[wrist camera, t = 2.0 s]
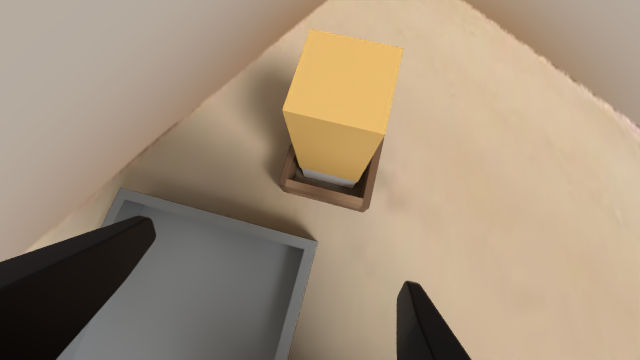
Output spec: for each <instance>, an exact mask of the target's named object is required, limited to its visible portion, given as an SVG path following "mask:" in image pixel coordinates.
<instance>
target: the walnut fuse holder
mask: <svg viewBox="0 0 640 360" xmlns="http://www.w3.org/2000/svg"><path fill="white" fill-rule="evenodd" d="M384 136H385V135H384ZM383 141H384V137H383V139H382V141H381V142H380V144H379V146H378V148H377V149H376V151H375V153H374V155H373V156H372V158H371V160H370V162H369V163H368V165H367V167H366V172H365V176H364V180H363V185H362V189H361V194H360V198H358V197H355V196H351V195H347V194H343V193H339V192H335V191H331V190H327V189H324V188H320V187H316V186H312V185H308V184H304V183H300V182H296V181H294V178H295V174H296V171H297V168H298V165H299V163H298V160H297V157H296V154H295V150H294V147H293V144H292V142H291V145H290V148H289V151H288V154H287V158H286V161H285V164H284V167H283V170H282V173H281V176H280V179H279V183H278V185H279V186H280V187H281V189H282V190H283V191H284V192H287V193H291V194H295V195H299V196H303V197H306V198H310V199H314V200H318V201H322V202H326V203H329V204H333V205H337V206H341V207H345V208H348V209H352V210H356V211H360V212H364V211H365V210H367V209H368V208H369V206H370V201H371V196H372V192H373V187H374V182H375V178H376V173H377V168H378V164H379V159H380V154H381V150H382V145H383Z"/></svg>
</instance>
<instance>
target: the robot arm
mask: <svg viewBox="0 0 640 360" xmlns="http://www.w3.org/2000/svg"><path fill="white" fill-rule="evenodd" d="M155 239H156V231H155V228H154V224H153V221H152V219H151V218H149V217H146V216H141V215H138V216H134V217H132V218H129V219H126V220H123V221H120V222H117V223H114V224H111V225H108V226H105V227H102V228H99V229H96V230H93V231H90V232H87V233H84V234H82V235H79V236H76V237H73V238H70V239H67V240H64V241H61V242H58V243H55V244H52V245H49V246H46V247H43V248H40V249H37V250H34V251H32V252H29V253H26V254H23V255H20V256H17V257H14V258H11V259H8V260H5V261H2V262H0V360H56V359H57V358H58V357H59V356H60V355H61V354H62V352H63V351H64V350H65V349H66V348H67V347H68V346H69V344H70V343H71V342H72V341H73V340H74V339H75V338H76V336H77V335H78V334H79V333H80V332H81V331H82V330H83V328H84V327H85V326H86V325H87V324H88V323H89V322H90V320H91V319H92V318H93V317H94V316H95V315H96V314H97V312H98V311H99V310H100V309H101V308H102V307H103V306H104V304H105V303H106V302H107V301H108V300H109V299H110V298H111V296H112V295H113V294H114V293H115V292H116V291H117V290H118V288H119V287H120V286H121V285H122V284H123V283H124V281H125V280H126V279H127V278H128V276H129V275H130V274H131V272H132V271H133V270H134V268H135V267H136V266H137V264H138V263H139V262H140V260H141V259H142V257H143V256H144V255H145V253H146V252H147V251H148V249H149V248H150V247H151V245H152V244H153V242H154V241H155ZM397 360H471V358H470V357H469V355H468V354H467V353H466V351H465V350H464V348H463V347H462V345H461V344H460V342H459V341H458V339H457V338H456V336H455V335H454V333H453V332H452V331H451V329H450V328H449V326H448V325H447V323H446V322H445V320H444V319H443V317H442V316H441V314H440V313H439V312H438V310H437V309H436V307H435V306H434V304H433V303H432V301H431V300H430V298H429V297H428V295H427V294H426V292H425V291H424V290H423V288H422V287H421V285H420V284H418V283H416V282H412V281H405V283H404V284H403V286H402V288H401V290H400V292H399V294H398V297H397Z"/></svg>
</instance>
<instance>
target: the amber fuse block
mask: <svg viewBox="0 0 640 360" xmlns="http://www.w3.org/2000/svg"><path fill="white" fill-rule="evenodd" d="M403 49H404V48H401V47H396V46H391V45H386V44H381V43H376V42H371V41H367V40H362V39H357V38H352V37H347V36H342V35H337V34H332V33H328V32H323V31H318V30H313V29H310V31H309V34H308V36H307V39H306V42H305V45H304V48H303V51H302V54H301V57H300V60H299V63H298V66H297V68H296V71H295V74H294V77H293V80H292V83H291V86H290V89H289V92H288V95H287V98H286V101H285V103H284V106H283V109H282V111H283V115H284V118H285V121H286V124H287V128H288V131H289V134H290V137H291V141H292V144H293V147H294V150H295V154H296V157H297V160H298V163H299V166H300V168H302V171H303V174H304V176H305V177H309V178H313V179H316V180H320V181H324V182H328V183H332V184H336V185H340V186H344V187H348V188H353V187H354V185H355V183H356V182H358V181H359V179H360V177H361V175H362V174H363V172H364V170H365V168H366V167H367V165H368V163H369V162H370V160H371V158H372V156H373V155H374V153H375V151H376V149H377V148H378V146H379V144H380V142H381V141H382V139H383V137H384V135H385V133H386V128H387V123H388V119H389V114H390V109H391V105H392V100H393V95H394V91H395V86H396V81H397V77H398V72H399V67H400V63H401V58H402V53H403Z"/></svg>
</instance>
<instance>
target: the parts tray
mask: <svg viewBox="0 0 640 360" xmlns="http://www.w3.org/2000/svg"><path fill="white" fill-rule="evenodd" d="M138 215H141V216H146V217H149V218H151V219H152V221H153V224H154V228H155V231H156V239H155V241H154V242H153V244H152V245H151V247H150V248H149V249H148V251H147V252H146V253H145V255H144V256H143V257H142V259H141V260H140V262H139V263H138V264H137V266H136V267H135V268H134V270H133V271H132V272H131V274H130V275H129V276H128V278H127V279H126V280H125V281H124V283H123V284H122V285H121V286H120V287H119V288H118V290H117V291H116V292H115V293H114V294H113V295H112V296H111V298H110V299H109V300H108V301H107V302H106V303H105V304H104V306H103V307H102V308H101V309H100V310H99V311H98V312H97V314H96V315H95V316H94V317H93V318H92V319H91V320H90V322H89V323H88V324H87V325H86V326H85V327H84V328H83V330H82V331H81V332H80V333H79V334H78V335H77V336H76V338H75V339H74V340H73V341H72V342H71V343H70V344H69V346H68V347H67V348H66V349H65V350H64V351H63V352H62V354H61V355H60V356H59V357H58V358H57V359H56V360H287V359H288V355H289V351H290V347H291V343H292V340H293V336H294V332H295V328H296V324H297V320H298V317H299V313H300V309H301V305H302V301H303V297H304V293H305V290H306V286H307V282H308V278H309V274H310V270H311V267H312V263H313V259H314V255H315V251H316V247H317V243H318V242H316V241H313V240H309V239H305V238H302V237H298V236H294V235H291V234H287V233H284V232H280V231H276V230H273V229H269V228H265V227H262V226H258V225H255V224H251V223H247V222H244V221H240V220H236V219H233V218H229V217H226V216H222V215H218V214H215V213H211V212H207V211H204V210H200V209H197V208H193V207H189V206H186V205H182V204H178V203H175V202H171V201H168V200H164V199H160V198H157V197H153V196H149V195H146V194H142V193H138V192H135V191H131V190H127V189H124V188H120V190H119V192H118V194H117V196H116V198H115V200H114V202H113V204H112V206H111V208H110V210H109V212H108V214H107V216H106V218H105V220H104V222H103V224H102V226H101V228H102V227H105V226H108V225H111V224H114V223H117V222H120V221H123V220H126V219H129V218H132V217H134V216H138Z"/></svg>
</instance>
